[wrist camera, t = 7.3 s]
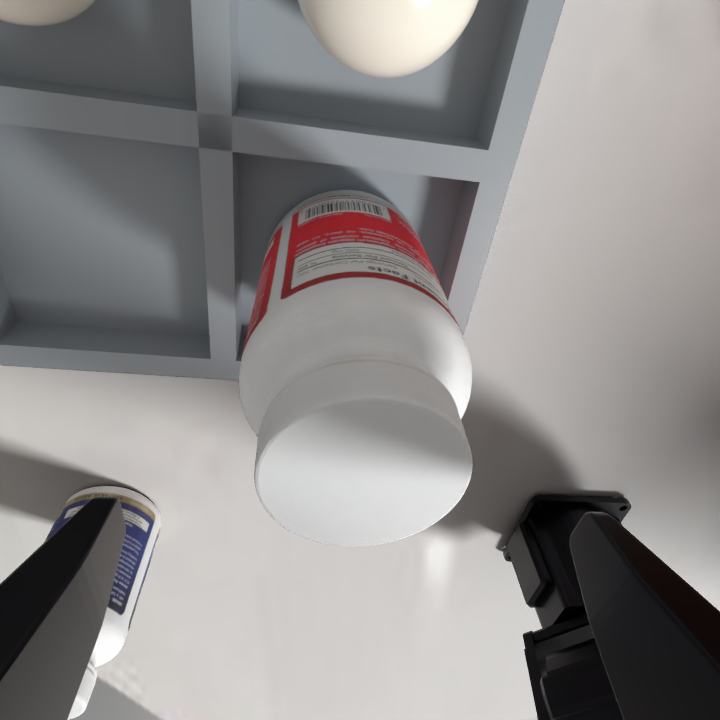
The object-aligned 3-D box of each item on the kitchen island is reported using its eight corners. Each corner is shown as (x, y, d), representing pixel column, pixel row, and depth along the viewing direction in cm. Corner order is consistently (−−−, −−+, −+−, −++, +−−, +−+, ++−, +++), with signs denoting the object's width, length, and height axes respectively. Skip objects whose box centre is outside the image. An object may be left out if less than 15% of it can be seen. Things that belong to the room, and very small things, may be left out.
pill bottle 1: (50, 485, 27) (-65, 684, 19) (149, 479, 27) (76, 673, 19) (85, 542, 30) (-2, 734, 22) (173, 537, 30) (119, 724, 22)
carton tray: (598, -239, 12) (652, -288, 10) (434, 360, 23) (445, 393, 21) (-255, -450, 10) (-403, -567, 8) (8, 329, 21) (-26, 363, 19)
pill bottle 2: (334, 353, 22) (343, 593, 13) (232, 255, 19) (149, 478, 10) (451, 272, 20) (559, 488, 11) (358, 147, 17) (399, 302, 8)
